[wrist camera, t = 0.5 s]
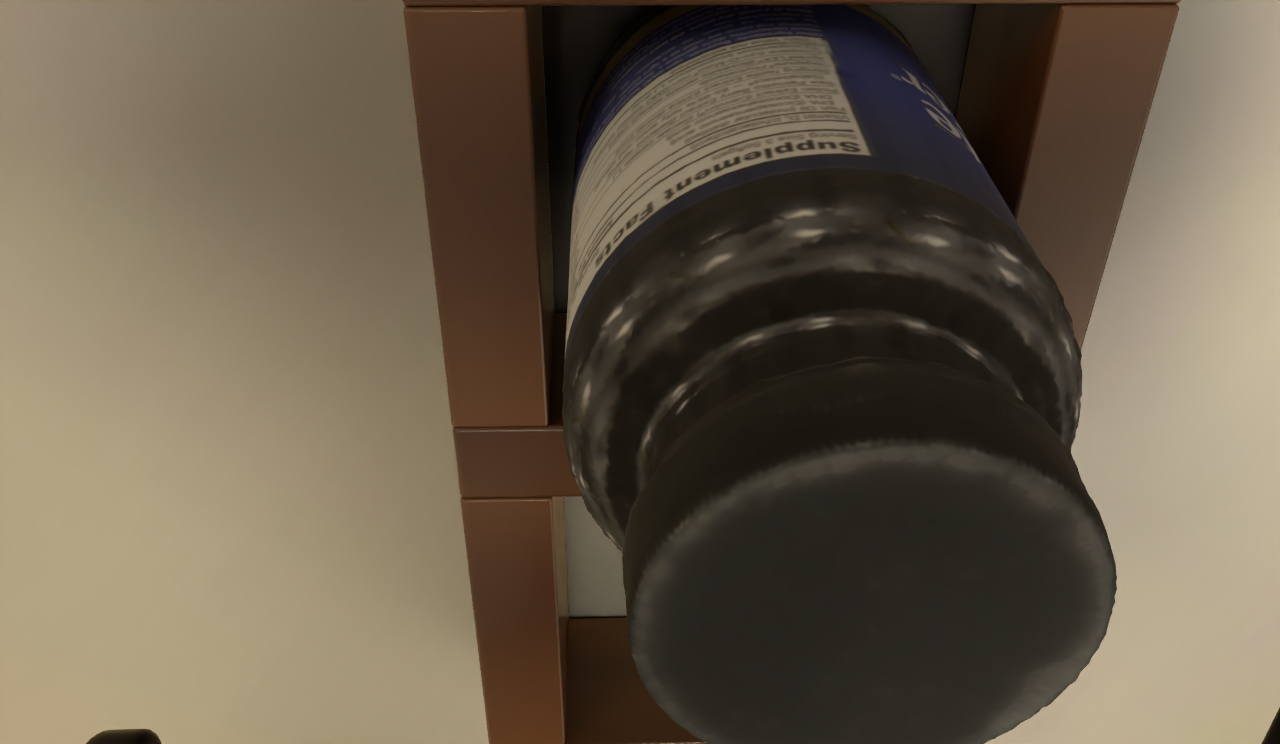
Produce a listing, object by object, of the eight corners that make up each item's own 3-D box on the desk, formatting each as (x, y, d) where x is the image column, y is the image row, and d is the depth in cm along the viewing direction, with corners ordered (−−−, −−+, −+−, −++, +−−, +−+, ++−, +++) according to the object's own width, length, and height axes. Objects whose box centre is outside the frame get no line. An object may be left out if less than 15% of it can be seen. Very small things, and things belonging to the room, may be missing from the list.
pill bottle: (960, 227, 21) (1225, 741, 12) (648, 331, 22) (681, 869, 13) (879, -103, 17) (1168, 280, 9) (514, 41, 19) (436, 509, 10)
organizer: (921, 655, 28) (958, 781, 25) (504, 663, 28) (494, 791, 25) (1115, -183, 17) (1219, -125, 14) (422, -183, 17) (387, -125, 14)
